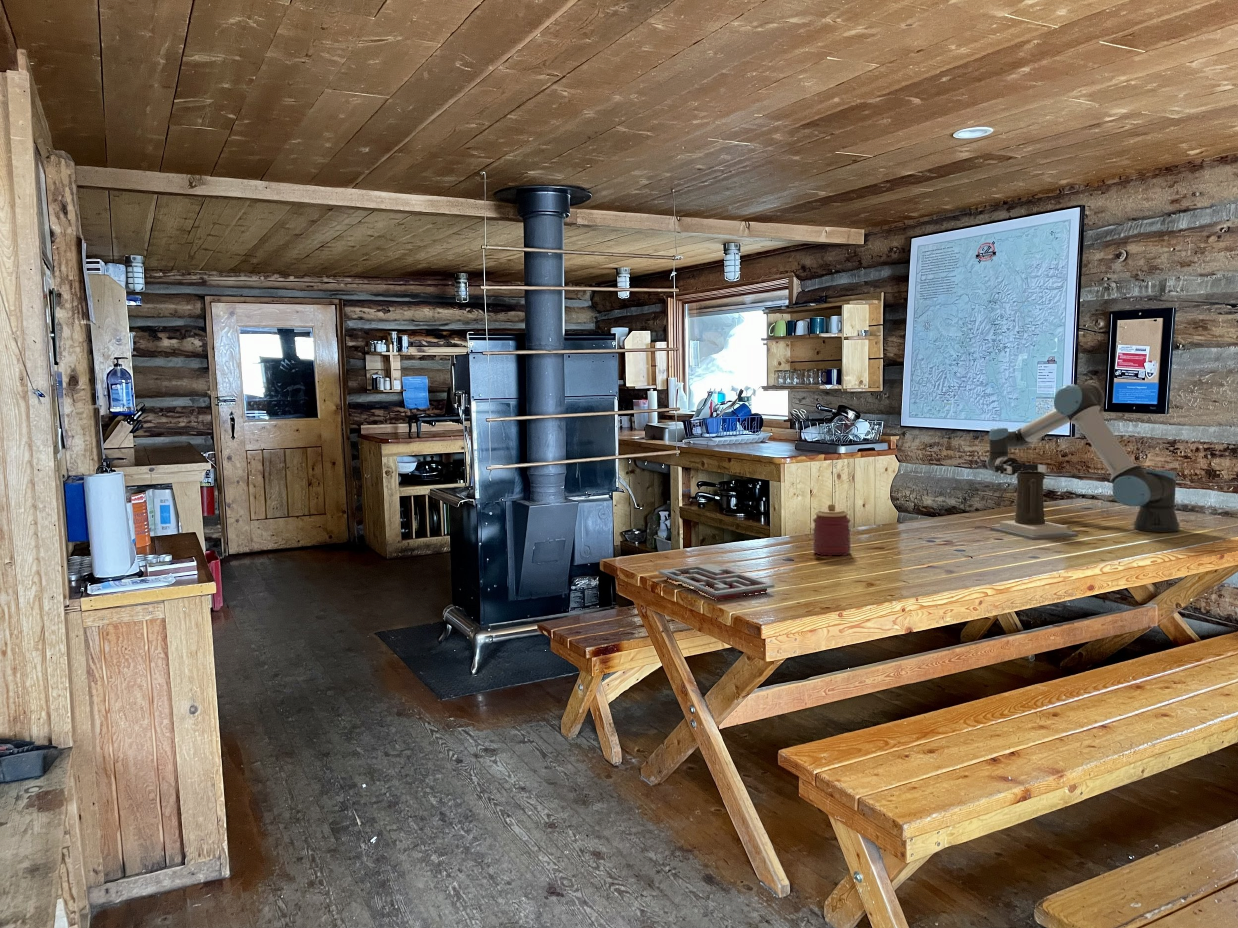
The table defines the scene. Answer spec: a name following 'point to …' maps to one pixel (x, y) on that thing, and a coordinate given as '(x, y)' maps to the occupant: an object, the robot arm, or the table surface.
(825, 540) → the canister
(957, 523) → the table surface
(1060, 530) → the stand
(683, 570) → the maze game
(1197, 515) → the table surface
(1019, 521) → the beer stein
